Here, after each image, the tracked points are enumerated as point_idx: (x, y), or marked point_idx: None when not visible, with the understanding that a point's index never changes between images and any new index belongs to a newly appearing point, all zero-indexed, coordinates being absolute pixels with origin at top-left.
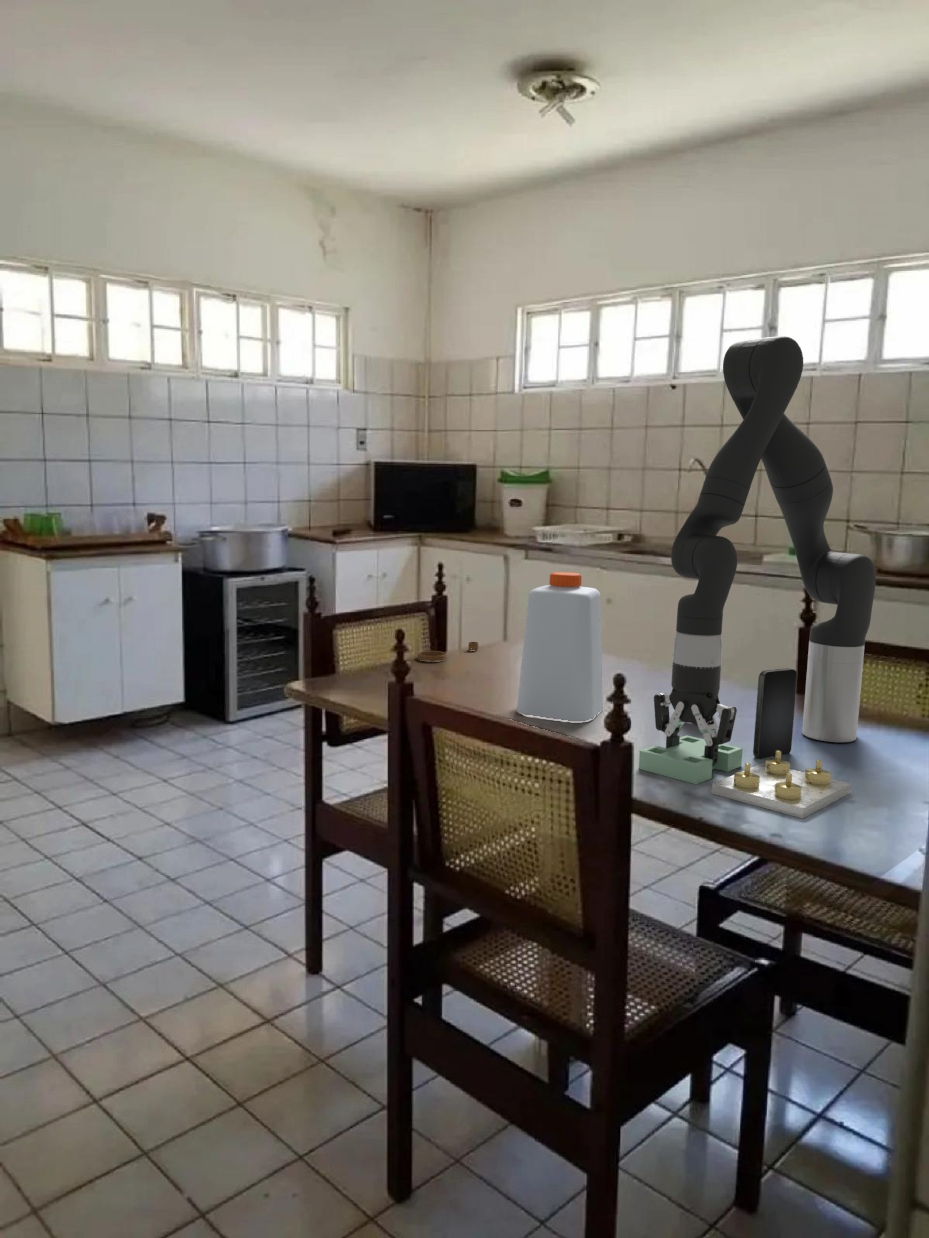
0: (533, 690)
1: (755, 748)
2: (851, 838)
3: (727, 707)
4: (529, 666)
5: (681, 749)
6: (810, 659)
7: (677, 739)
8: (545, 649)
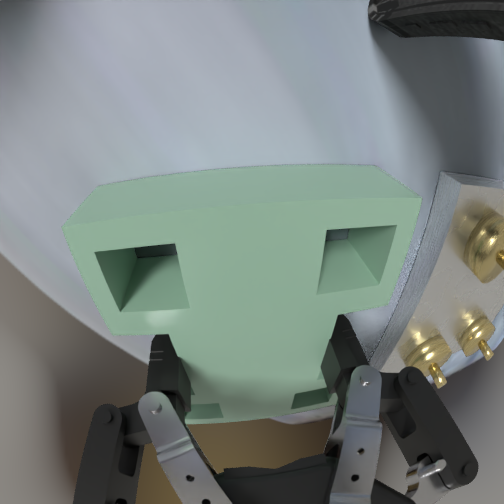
0: None
1: (404, 26)
2: (495, 325)
3: (444, 491)
4: None
5: (232, 381)
6: None
7: (182, 384)
8: None
